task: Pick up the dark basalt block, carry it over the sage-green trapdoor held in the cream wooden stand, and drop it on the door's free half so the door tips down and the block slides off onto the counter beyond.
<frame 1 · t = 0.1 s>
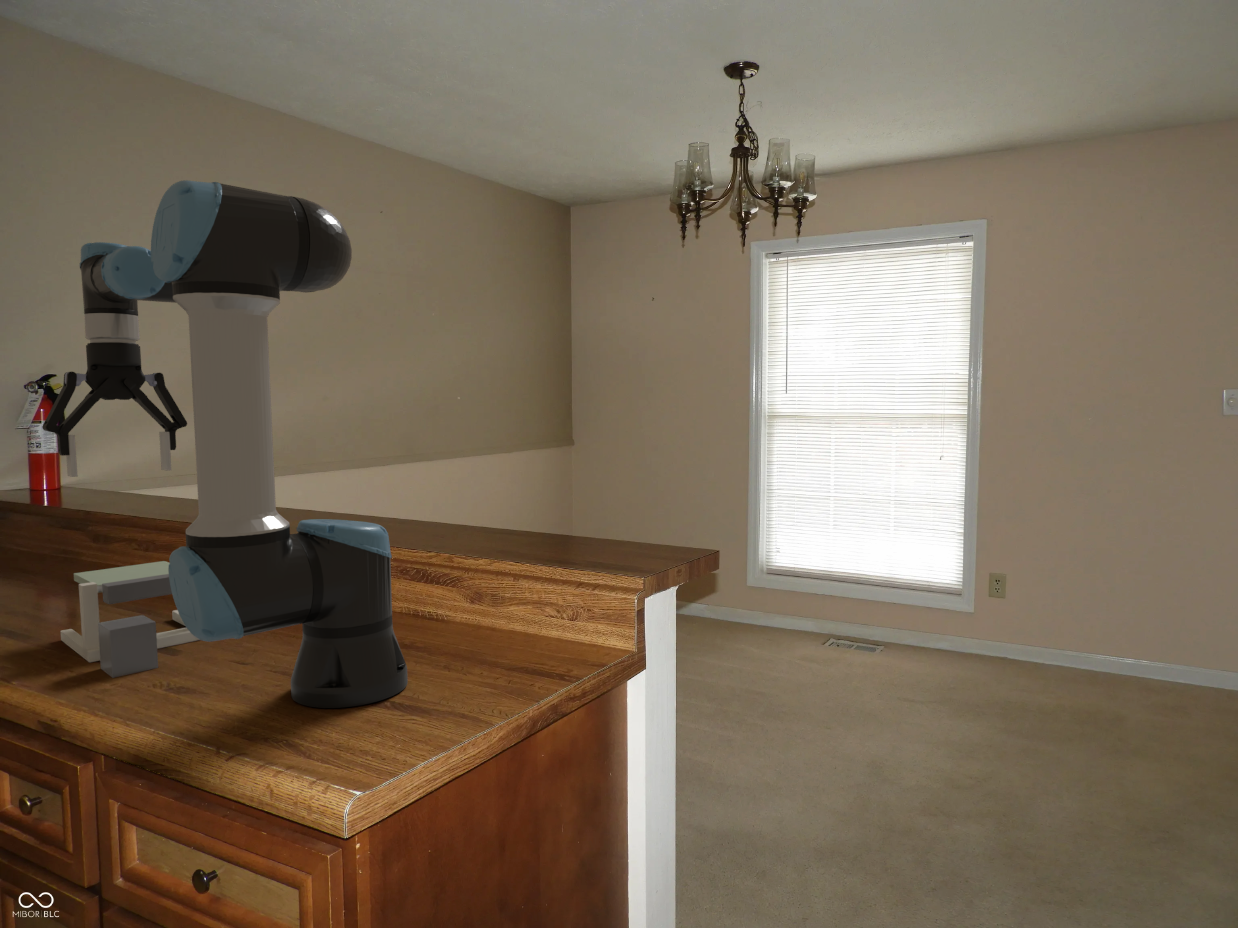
hand: (121, 473, 135), 28 cm above the table, fingers open, 13 cm apart
stand: (136, 635, 140), on the table
trapdoor: (137, 580, 138), point 10 cm above the table, hinge at -0.4°
basalt block: (129, 668, 123), on the table
stone: (258, 616, 153), on the table
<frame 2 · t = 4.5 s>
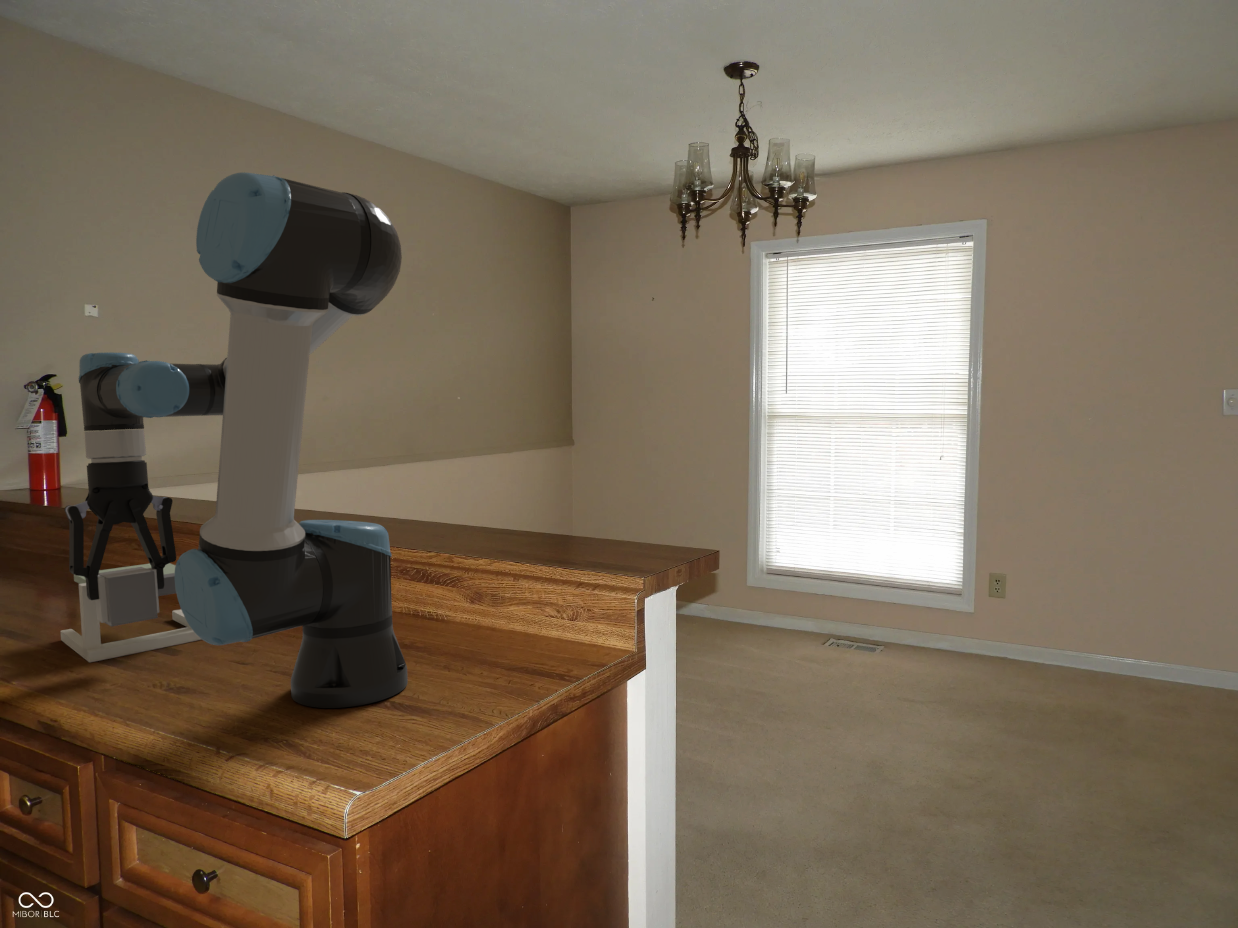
hand: (128, 615, 122), 8 cm above the table, fingers closed on basalt block, 6 cm apart
trapdoor: (137, 580, 138), point 10 cm above the table, hinge at -0.8°
basalt block: (128, 618, 122), point 8 cm above the table, touching gripper
everything else where it was.
when the fingers open (13 cm above the table, at t = 7.6 s): basalt block drops 7 cm and tips over, point 6 cm above the table.
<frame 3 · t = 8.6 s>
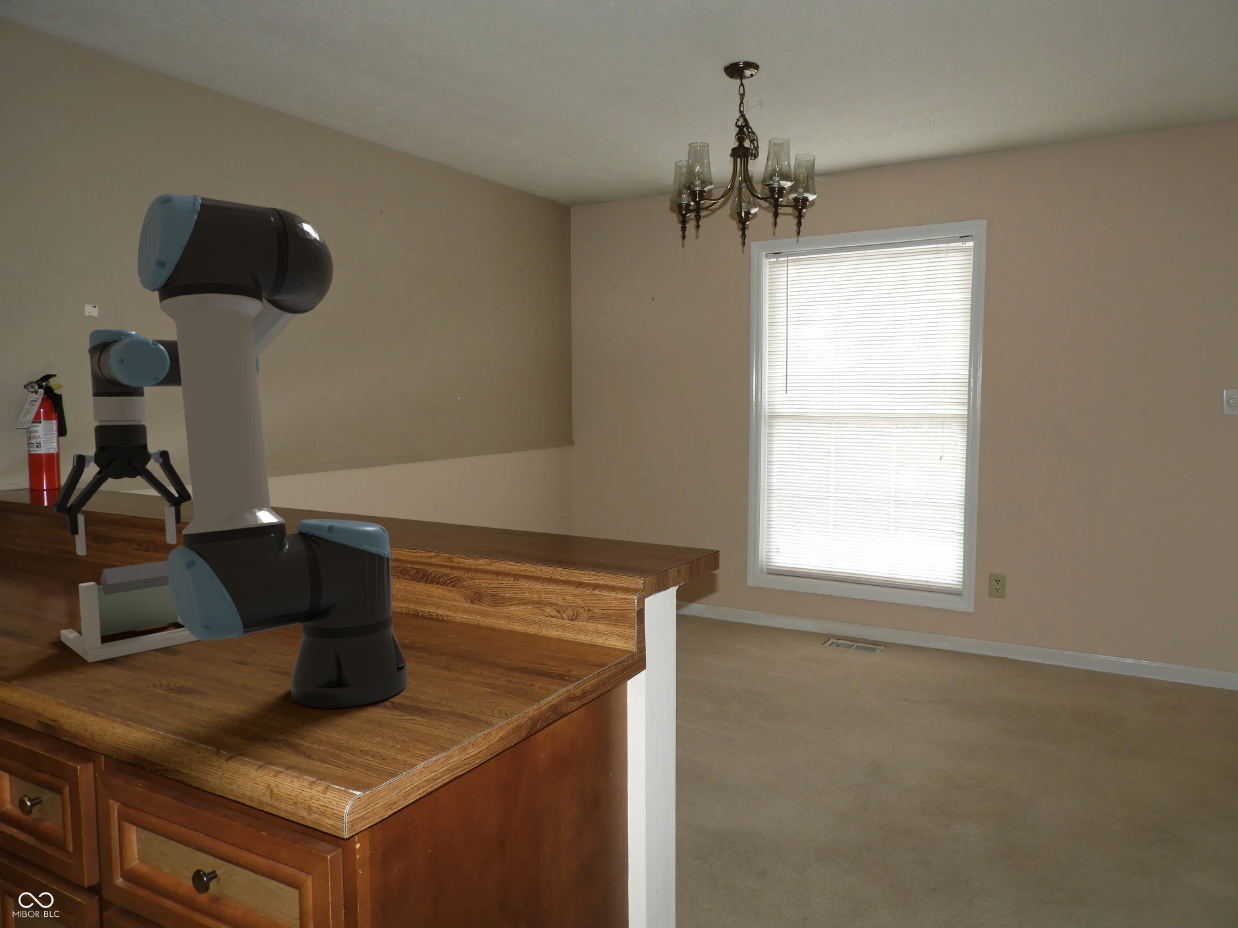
hand: (128, 548, 140), 15 cm above the table, fingers open, 13 cm apart
trapdoor: (141, 601, 137), point 7 cm above the table, hinge at -42.8°
basalt block: (127, 599, 142), point 6 cm above the table, tilted 118°
everything else where it was.
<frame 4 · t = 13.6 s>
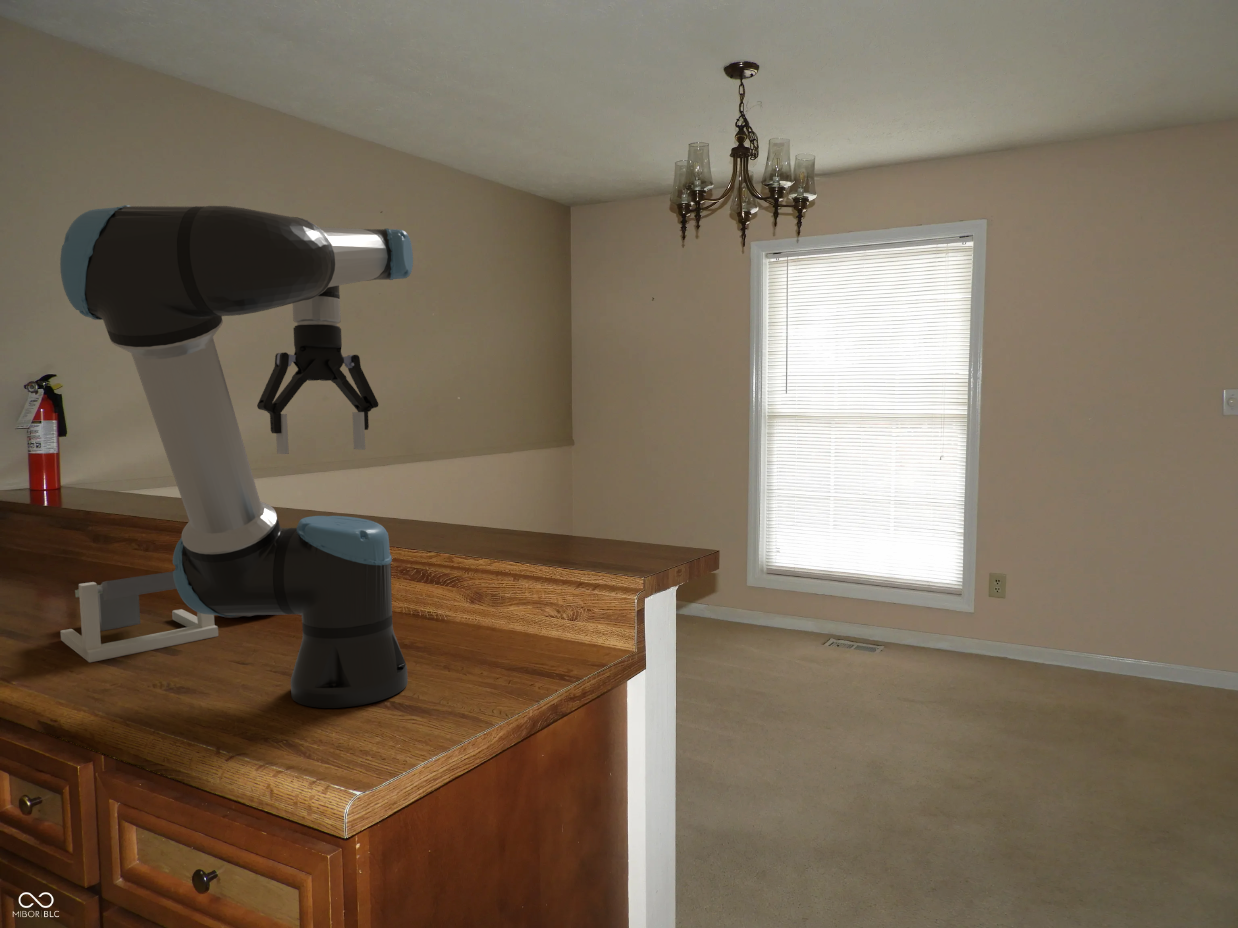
hand: (322, 451, 140), 31 cm above the table, fingers open, 13 cm apart
trapdoor: (137, 586, 137), point 9 cm above the table, hinge at -12.1°
basalt block: (114, 585, 147), point 7 cm above the table, tilted 180°
everything else where it was.
at the end: basalt block inside the target area (5.2 cm from its centre), point 6.9 cm above the table; basalt block point 6.9 cm above the table; the gripper is holding nothing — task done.
